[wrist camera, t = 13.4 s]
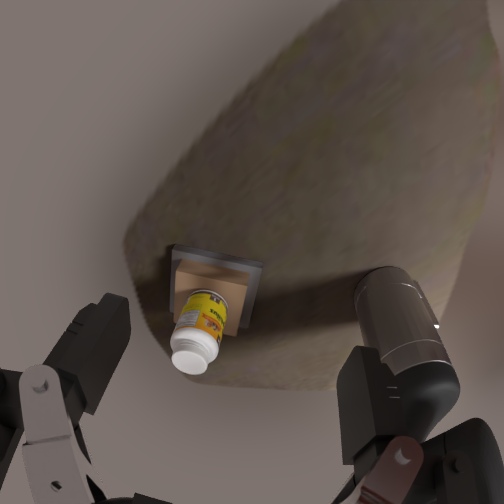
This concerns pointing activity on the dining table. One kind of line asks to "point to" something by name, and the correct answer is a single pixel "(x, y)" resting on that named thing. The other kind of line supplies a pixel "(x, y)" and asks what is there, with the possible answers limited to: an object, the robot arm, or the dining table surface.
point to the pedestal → (215, 282)
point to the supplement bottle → (198, 331)
